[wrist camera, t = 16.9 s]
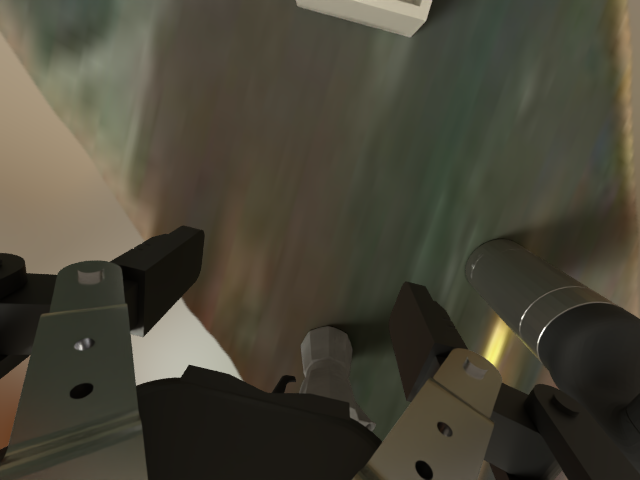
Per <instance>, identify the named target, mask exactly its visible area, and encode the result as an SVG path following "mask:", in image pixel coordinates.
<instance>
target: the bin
mask: <svg viewBox="0 0 640 480" xmlns="http://www.w3.org/2000/svg"><path fill="white" fill-rule="evenodd" d="M296 2H297V6H298V7H301V8H305V9H308V10H312V11H316V12H319V13H323V14H327V15H330V16H334V17H338V18H341V19H345V20H349V21H352V22H356V23H359V24H363V25H367V26H370V27H374V28H378V29H381V30H385V31H389V32H392V33H396V34H400V35H403V36H407V37H412V35H413V34H414V33H415V32H416V31H417V30H418V29H419V28H420V27H421V26H422V25H423V24H424V23H425V22H426V20H427V16H428V13H429V10H430V6H431V3H432V0H296Z"/></svg>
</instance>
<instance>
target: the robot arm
mask: <svg viewBox="0 0 640 480" xmlns="http://www.w3.org/2000/svg"><path fill="white" fill-rule="evenodd" d="M203 246H204V231H203V230H199V229H195V228H191V227H187V226H181V227H179V228H178V229H176V230H174V231H173V232H171V233H170V234H163V235H159V236H155V237H152V238H150V239H148V240H146V241H145V242H143V243H142V244H140V245H138V246H136V247H135V248H134V249H131V250H129V251H128V252H126V253H124V254H122V255H121V256H119V257H117V258H115V259H114V260H112V261H110V262H107V261H84V262H79V263H75V264H71V265H69V266H67V267H65V268H63V269H62V270H60V271H59V273H58V275H49V274H30V273H26V267H25V261H24V259H23V258H21V257H19V256H17V255H13V254H7V253H0V379H1V378H2V377H3V376H5V375H6V374H7V373H9V372H10V371H11V370H12V369H14V368H15V367H16V366H17V365H19V364H20V363H21V362H22V361H24V360H25V359H26V358H27V357H29V355H31V356H30V360H29V364H28V368H27V372H26V377H25V380H24V384H23V388H22V392H21V396H20V400H19V404H18V408H17V413H16V417H15V421H14V425H13V429H12V433H11V437H10V441H9V445H8V446H7V447H5V448H3V449H1V450H0V480H477V479H478V476H479V473H480V469H481V466H482V463H483V460H485V461H487V462H489V464H490V466H491V469H492V472H493V474H494V477H495V479H496V480H554V479H555V478H556V477H557V476H558V475H559V473H560V472H561V471H562V470H563V472H564V474H565V475H566V477H567V478H568V480H640V319H639V318H637V317H636V316H634V315H633V314H631V313H629V312H628V311H626V310H624V309H623V308H621V307H619V306H618V305H616V304H614V303H613V302H611V301H609V300H608V299H606V298H605V297H603V296H601V295H600V294H598V293H597V292H595V291H593V290H591V289H590V288H588V287H587V286H585V285H583V284H582V283H580V282H578V281H577V280H575V279H574V278H572V277H570V276H569V275H567V274H566V273H564V272H562V271H561V270H559V269H557V268H556V267H554V266H553V265H551V264H549V263H548V262H546V261H545V260H543V259H541V258H540V257H538V256H536V255H535V254H533V253H532V252H530V251H529V250H527V249H525V248H524V247H522V246H520V245H519V244H517V243H515V242H513V241H511V240H507V239H497V240H492V241H489V242H486V243H485V244H483V245H481V246H480V247H478V248H477V249H476V250H475V251H474V252H473V253H472V254H471V256H470V257H469V259H468V261H467V264H466V270H465V272H466V277H467V280H468V282H469V283H470V284H471V285H472V286H473V288H474V289H475V290H476V291H477V292H478V293H479V294H480V295H481V297H482V298H483V299H484V300H485V301H486V302H487V303H488V304H489V305H490V307H491V308H492V309H493V310H494V311H495V312H496V313H497V314H498V315H499V316H500V318H501V319H502V320H503V321H504V322H505V323H506V324H507V325H508V326H509V327H510V329H511V330H512V331H513V332H514V333H515V334H516V335H517V336H518V337H519V338H520V340H521V341H522V342H523V343H524V344H525V345H526V346H527V347H528V348H529V349H530V350H531V352H532V353H533V354H534V355H535V356H536V357H537V358H538V359H539V360H540V361H541V363H542V364H543V365H544V366H545V367H546V368H547V369H548V370H549V372H550V375H551V377H552V379H553V381H554V383H555V384H556V386H557V387H558V388H559V389H560V390H558V389H556V388H554V387H552V386H549V385H544V384H538V385H535V387H534V388H533V390H532V391H531V392H530V394H529V395H527V394H525V393H523V392H521V391H519V390H517V389H514V388H512V387H510V386H508V385H506V384H504V383H502V377H501V375H500V373H499V371H498V370H497V369H496V368H495V367H494V365H493V364H491V363H490V362H489V361H488V360H487V359H485V358H484V357H482V356H481V355H479V354H477V353H475V352H473V351H470V350H468V348H467V347H466V345H465V343H464V341H463V340H462V338H461V336H460V335H459V333H458V331H457V329H455V326H454V324H453V322H452V321H451V319H450V317H449V316H448V314H447V312H446V310H444V309H443V308H442V307H441V306H440V305H439V304H438V303H437V302H436V301H433V299H432V298H431V296H430V294H429V292H428V290H427V288H426V287H425V286H422V285H418V284H414V283H410V282H405V283H404V284H403V285H402V287H401V290H400V292H399V295H398V297H397V300H396V302H395V305H394V307H393V310H392V312H391V315H390V319H389V332H390V336H391V340H392V344H393V348H394V352H395V356H396V360H397V365H398V369H399V373H400V377H401V381H402V385H403V389H404V393H405V397H406V401H410V402H411V403H410V405H409V406H408V408H407V409H406V410H405V412H404V413H403V414H402V416H401V417H400V419H399V420H398V421H397V423H396V424H395V426H394V427H393V428H392V430H391V431H390V432H389V434H388V435H387V437H386V438H385V439H384V441H383V442H382V441H381V440H380V439H379V438H378V437H377V436H376V435H375V434H374V433H373V432H372V431H370V430H369V429H368V428H366V427H365V426H364V425H362V424H361V423H359V422H358V421H356V420H354V419H352V418H350V405H349V402H345V401H340V400H336V399H332V398H328V397H323V396H319V395H315V394H311V393H267V392H264V391H262V390H260V389H258V388H256V387H254V386H252V385H250V384H248V383H246V382H244V381H242V380H240V379H238V378H236V377H234V376H232V375H230V374H226V373H222V372H218V371H213V370H209V369H205V368H201V367H196V366H192V365H189V366H188V367H187V369H186V370H185V372H184V374H183V375H182V377H181V378H166V379H160V380H154V381H150V382H146V383H143V384H140V385H137V386H136V383H135V373H134V363H133V354H132V344H131V335H130V334H132V335H137V336H141V337H144V336H145V335H146V334H147V332H149V331H150V330H151V328H152V327H153V326H154V325H155V324H156V323H157V322H158V321H159V320H160V319H161V318H162V317H163V316H164V315H165V314H166V312H167V311H168V310H169V309H170V308H171V307H172V306H173V305H174V304H175V303H176V302H177V300H179V299H180V298H181V297H182V295H183V294H184V293H185V292H186V291H187V290H188V289H189V288H190V287H191V286H192V285H193V284H194V283H195V281H196V280H197V278H198V276H199V274H200V271H201V265H202V256H203Z"/></svg>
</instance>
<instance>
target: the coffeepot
mask: <svg viewBox="0 0 640 480" xmlns="http://www.w3.org/2000/svg"><path fill="white" fill-rule="evenodd" d="M352 351H353V349H352V346H351V343H350V340H349V338H348V335H347V334H346V333H344V332H343V331H341V330H339V329H337V328H334V327H330V326H325V327H319V328H316V329H314V330H311V331H309V333H308V334H307V335H306V337H305V339H304V341H303V342H302V344H301V353H302V362H303V370H304V374H305V377H306V378H305V379H304V381H303V383H302V385H301V389H300V392H299V393H311V394H315V395H319V396H323V397H328V398H332V399H336V400H340V401H345V402H349V405H350V418H352V419H354V420H356V421H358V422H359V423H361V424H362V425H364V426H365V427H366V428H368V429H369V430H370V431H373V430H374V428H375V425H376V423H374V422H372V421H371V420H370V419H369V418H368V417H367V415H366V414H365V413H364V412H363V410H362V409H361V408H360V406H359V405H358V404H357V403H356V401H355V399H354V395H353V391H352V388H351V385H350V382H349V379H348V377H349V375H350V367H351V359H352ZM289 382H296V379H295V377H294V376H288V375H285V376H282V378H281V379H280V381H279V382H278V384H277V385H276V387H275V389H274V390H273V392H272V393H284V392H285V388H286V384H287V383H289Z"/></svg>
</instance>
